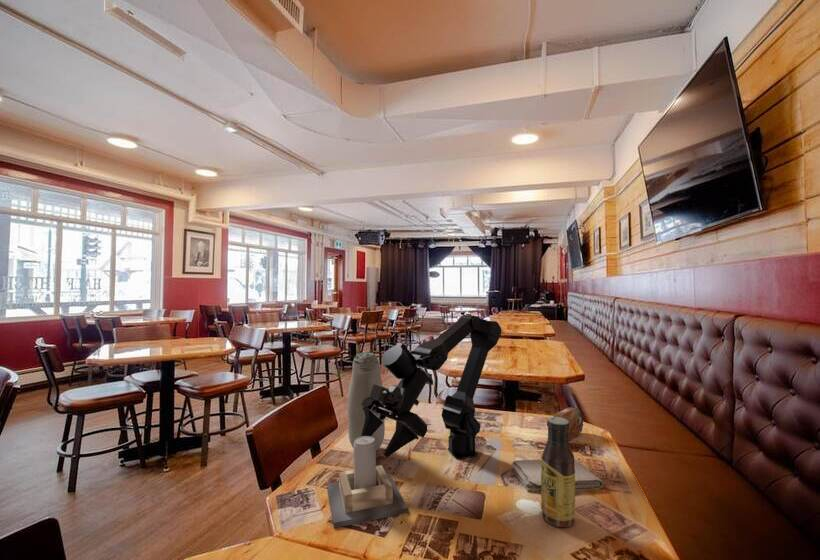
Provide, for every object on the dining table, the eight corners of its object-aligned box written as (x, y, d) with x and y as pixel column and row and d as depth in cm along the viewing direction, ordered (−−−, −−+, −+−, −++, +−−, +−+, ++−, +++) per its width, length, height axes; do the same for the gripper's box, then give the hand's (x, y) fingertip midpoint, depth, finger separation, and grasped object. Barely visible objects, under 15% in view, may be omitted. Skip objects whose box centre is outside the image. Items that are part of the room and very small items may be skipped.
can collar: (389, 477, 91) (389, 458, 91) (407, 512, 77) (407, 490, 77) (326, 488, 87) (326, 468, 87) (333, 528, 72) (333, 504, 73)
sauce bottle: (536, 511, 77) (534, 414, 77) (565, 509, 77) (563, 412, 78) (550, 532, 70) (548, 425, 71) (582, 529, 71) (580, 424, 71)
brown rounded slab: (558, 447, 107) (558, 417, 107) (548, 443, 109) (548, 414, 109) (584, 433, 116) (583, 406, 116) (574, 430, 119) (574, 403, 119)
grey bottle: (342, 450, 107) (341, 352, 107) (373, 441, 113) (371, 348, 113) (360, 463, 99) (358, 357, 99) (391, 452, 105) (390, 352, 105)
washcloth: (509, 470, 95) (509, 457, 95) (576, 465, 97) (576, 453, 97) (528, 496, 83) (528, 482, 83) (604, 491, 85) (604, 477, 85)
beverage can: (363, 504, 79) (363, 446, 79) (349, 495, 82) (348, 440, 82) (380, 494, 82) (379, 439, 82) (366, 486, 85) (365, 433, 86)
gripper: (366, 364, 94) (328, 419, 87) (416, 377, 80) (376, 444, 73) (391, 389, 99) (357, 443, 92) (442, 405, 85) (407, 471, 78)
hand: (372, 449), depth 84 cm, fingers open, 9 cm apart
